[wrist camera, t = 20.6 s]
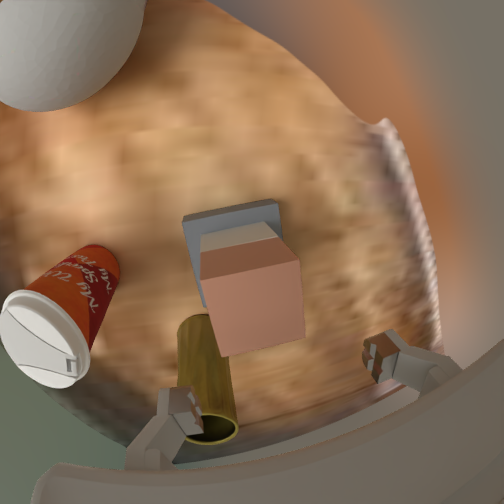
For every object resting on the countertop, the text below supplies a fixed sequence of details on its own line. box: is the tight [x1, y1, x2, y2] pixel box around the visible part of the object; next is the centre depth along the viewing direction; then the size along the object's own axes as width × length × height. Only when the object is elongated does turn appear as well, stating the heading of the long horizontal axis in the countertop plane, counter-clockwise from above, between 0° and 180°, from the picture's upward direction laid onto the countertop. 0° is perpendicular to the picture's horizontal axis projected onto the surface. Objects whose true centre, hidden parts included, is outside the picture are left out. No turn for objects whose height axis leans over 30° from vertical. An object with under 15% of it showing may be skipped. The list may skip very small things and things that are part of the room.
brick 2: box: [200, 237, 306, 357], centre depth 19 cm, size 6×6×5 cm
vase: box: [177, 315, 238, 445], centre depth 25 cm, size 6×6×14 cm
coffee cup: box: [0, 245, 120, 388], centre depth 20 cm, size 8×8×15 cm
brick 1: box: [200, 222, 278, 252], centre depth 24 cm, size 6×6×5 cm
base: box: [182, 199, 283, 307], centre depth 28 cm, size 9×9×3 cm
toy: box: [0, 0, 148, 112], centre depth 12 cm, size 15×15×15 cm
